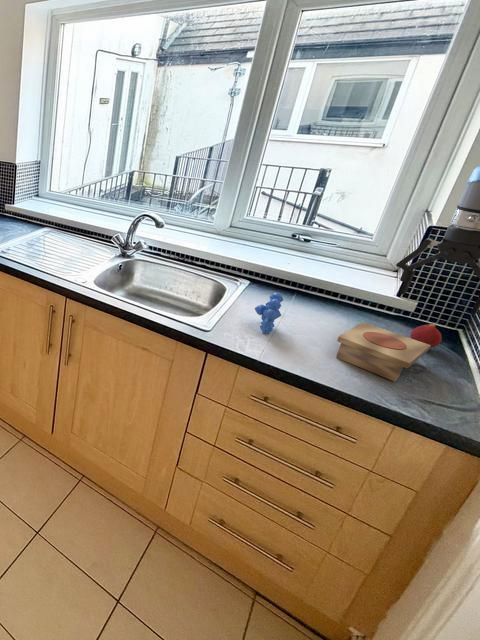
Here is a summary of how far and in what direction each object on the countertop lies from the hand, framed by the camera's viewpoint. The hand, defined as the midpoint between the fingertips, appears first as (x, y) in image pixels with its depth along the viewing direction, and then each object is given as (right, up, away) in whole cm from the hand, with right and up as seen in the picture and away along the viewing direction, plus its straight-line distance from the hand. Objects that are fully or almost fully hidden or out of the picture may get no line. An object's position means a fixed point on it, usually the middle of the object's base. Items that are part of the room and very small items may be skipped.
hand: (436, 302), depth 114 cm
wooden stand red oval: (-18, -15, -2) cm, 24 cm away
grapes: (-38, -10, +13) cm, 42 cm away
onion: (0, -13, +4) cm, 14 cm away
